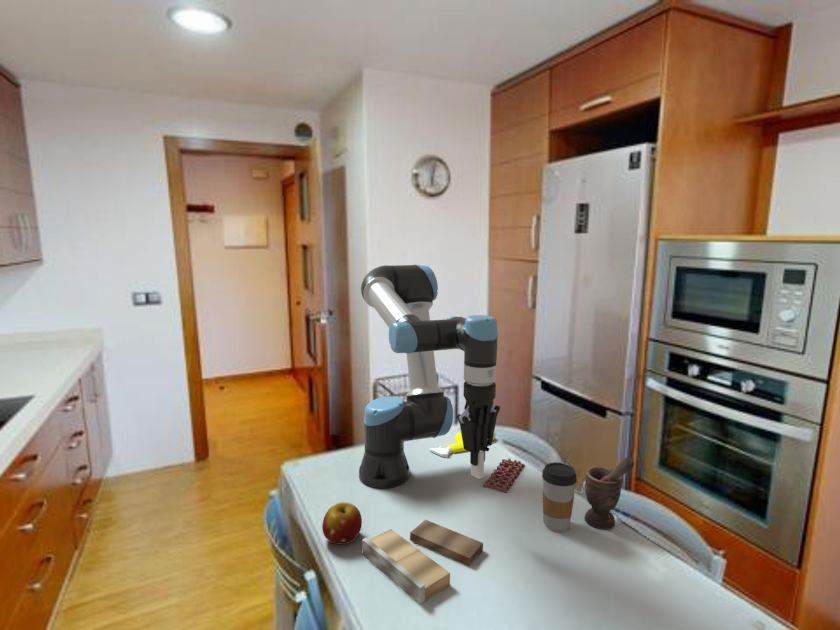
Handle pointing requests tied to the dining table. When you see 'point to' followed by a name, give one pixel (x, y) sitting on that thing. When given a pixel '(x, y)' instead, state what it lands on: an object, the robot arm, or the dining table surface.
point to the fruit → (342, 523)
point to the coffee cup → (558, 495)
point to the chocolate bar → (504, 475)
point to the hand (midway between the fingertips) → (477, 475)
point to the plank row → (406, 565)
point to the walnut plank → (447, 542)
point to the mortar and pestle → (604, 492)
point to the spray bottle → (451, 447)
